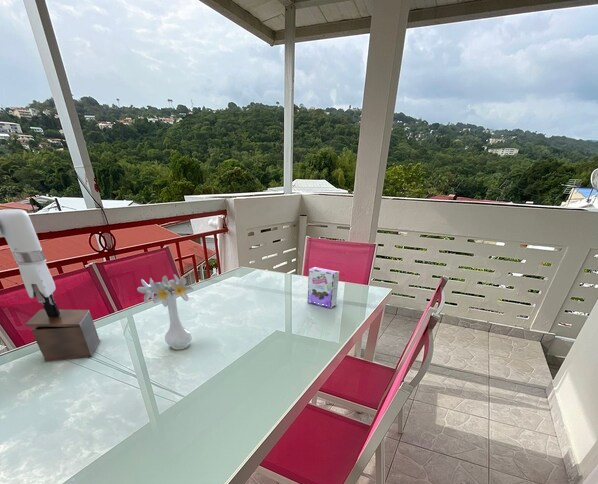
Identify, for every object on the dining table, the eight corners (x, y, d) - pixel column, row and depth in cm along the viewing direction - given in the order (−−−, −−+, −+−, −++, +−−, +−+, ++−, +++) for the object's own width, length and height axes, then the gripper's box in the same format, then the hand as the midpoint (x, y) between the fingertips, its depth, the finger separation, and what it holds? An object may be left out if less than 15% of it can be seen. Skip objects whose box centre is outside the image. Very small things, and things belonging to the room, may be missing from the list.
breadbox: (45, 361, 109) (31, 330, 103) (57, 344, 120) (45, 315, 114) (91, 357, 113) (80, 326, 106) (99, 340, 123) (90, 312, 117)
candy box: (306, 302, 165) (308, 268, 156) (313, 299, 169) (314, 266, 160) (330, 308, 159) (333, 273, 150) (336, 305, 163) (339, 270, 154)
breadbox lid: (26, 326, 102) (25, 324, 102) (41, 311, 113) (40, 309, 113) (80, 326, 106) (79, 324, 106) (89, 312, 117) (89, 309, 117)
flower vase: (161, 337, 127) (145, 270, 113) (208, 340, 126) (198, 272, 112) (145, 353, 116) (125, 280, 102) (196, 356, 115) (184, 282, 101)
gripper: (24, 252, 103) (48, 309, 114) (4, 263, 92) (33, 325, 102) (51, 251, 105) (73, 307, 116) (35, 261, 93) (60, 323, 104)
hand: (54, 315), depth 109 cm, fingers closed
